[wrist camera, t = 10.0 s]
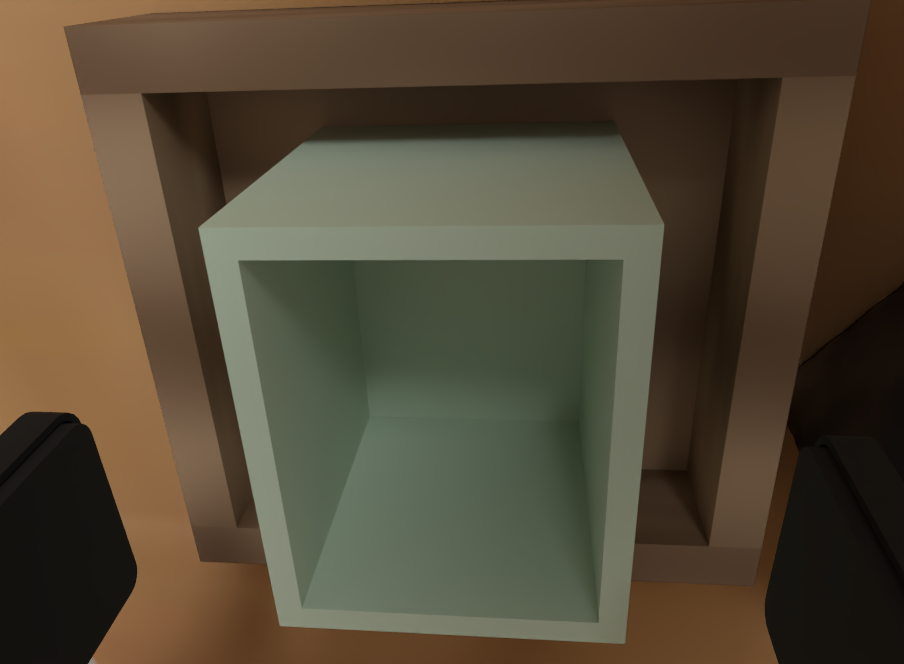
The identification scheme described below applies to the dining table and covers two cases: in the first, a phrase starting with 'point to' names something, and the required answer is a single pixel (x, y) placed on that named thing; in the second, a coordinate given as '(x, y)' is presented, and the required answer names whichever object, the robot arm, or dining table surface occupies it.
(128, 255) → the walnut crate
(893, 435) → the beverage carton
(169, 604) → the dining table surface
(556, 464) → the small crate
